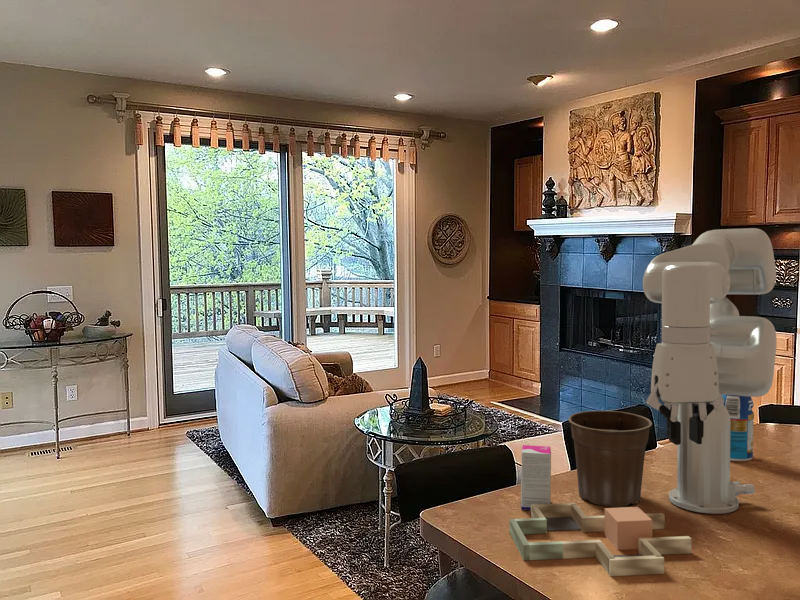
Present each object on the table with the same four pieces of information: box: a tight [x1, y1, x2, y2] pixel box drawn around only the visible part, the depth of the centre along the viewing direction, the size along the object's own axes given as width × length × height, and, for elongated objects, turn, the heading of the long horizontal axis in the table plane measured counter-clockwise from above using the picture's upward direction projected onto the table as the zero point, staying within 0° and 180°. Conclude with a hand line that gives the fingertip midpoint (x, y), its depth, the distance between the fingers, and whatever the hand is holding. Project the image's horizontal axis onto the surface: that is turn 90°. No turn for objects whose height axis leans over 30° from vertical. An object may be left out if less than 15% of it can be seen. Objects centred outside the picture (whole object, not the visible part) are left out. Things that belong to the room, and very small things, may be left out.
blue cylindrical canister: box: [721, 394, 755, 462], centre depth 160 cm, size 8×8×20 cm
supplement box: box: [520, 444, 552, 511], centre depth 132 cm, size 6×6×12 cm
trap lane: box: [508, 502, 692, 577], centre depth 114 cm, size 28×24×2 cm
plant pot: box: [568, 410, 653, 508], centre depth 135 cm, size 16×16×16 cm
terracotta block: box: [603, 506, 653, 551], centre depth 114 cm, size 6×6×5 cm
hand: (684, 441), depth 114 cm, fingers open, 3 cm apart
